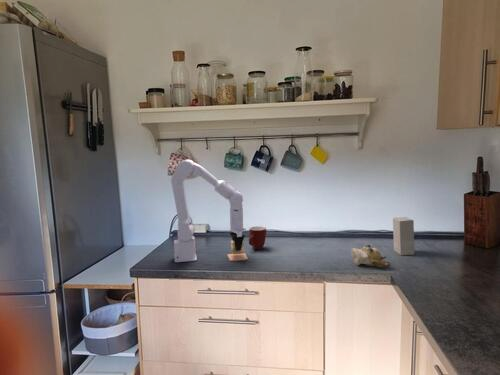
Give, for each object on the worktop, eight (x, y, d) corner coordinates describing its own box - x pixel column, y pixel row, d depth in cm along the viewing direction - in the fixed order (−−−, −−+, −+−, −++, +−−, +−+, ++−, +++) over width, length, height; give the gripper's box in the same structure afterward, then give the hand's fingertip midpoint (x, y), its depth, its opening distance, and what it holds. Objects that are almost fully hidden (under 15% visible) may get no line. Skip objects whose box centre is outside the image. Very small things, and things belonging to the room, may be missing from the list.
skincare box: (414, 255, 158) (416, 220, 156) (398, 255, 158) (399, 220, 156) (406, 249, 167) (408, 216, 165) (391, 249, 167) (392, 216, 165)
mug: (258, 253, 165) (258, 232, 164) (243, 251, 169) (243, 230, 168) (269, 247, 174) (269, 227, 173) (254, 245, 178) (254, 225, 177)
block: (232, 254, 157) (232, 243, 156) (231, 251, 162) (230, 240, 161) (244, 253, 158) (243, 242, 157) (241, 250, 163) (241, 239, 162)
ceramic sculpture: (350, 240, 153) (387, 243, 150) (348, 259, 154) (385, 263, 152) (352, 247, 143) (392, 251, 140) (351, 268, 144) (390, 272, 141)
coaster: (229, 261, 155) (229, 259, 155) (227, 255, 163) (227, 254, 163) (248, 259, 157) (247, 258, 157) (244, 254, 165) (244, 252, 165)
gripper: (248, 221, 152) (249, 252, 153) (242, 215, 166) (243, 243, 167) (232, 222, 150) (232, 254, 152) (227, 215, 164) (228, 244, 166)
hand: (237, 248), depth 160 cm, fingers closed on block, 5 cm apart
